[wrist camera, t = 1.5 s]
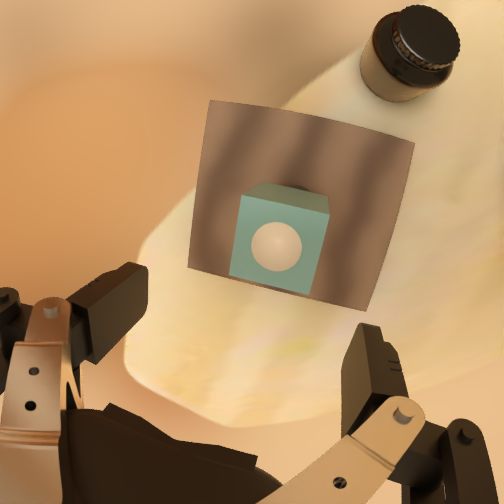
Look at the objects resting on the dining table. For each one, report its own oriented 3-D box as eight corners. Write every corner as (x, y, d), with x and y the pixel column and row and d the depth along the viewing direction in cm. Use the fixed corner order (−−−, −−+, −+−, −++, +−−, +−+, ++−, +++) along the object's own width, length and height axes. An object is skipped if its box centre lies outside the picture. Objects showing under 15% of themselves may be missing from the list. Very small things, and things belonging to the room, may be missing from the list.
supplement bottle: (402, 116, 26) (447, 102, 15) (346, 75, 26) (360, 35, 15) (434, 69, 23) (485, 38, 12) (380, 29, 23) (406, -24, 12)
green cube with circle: (327, 196, 24) (330, 215, 17) (312, 257, 25) (308, 296, 19) (262, 181, 24) (240, 195, 18) (251, 242, 26) (227, 276, 20)
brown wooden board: (409, 143, 27) (440, 143, 19) (363, 302, 33) (372, 349, 25) (216, 102, 30) (180, 90, 21) (194, 261, 36) (159, 294, 28)
